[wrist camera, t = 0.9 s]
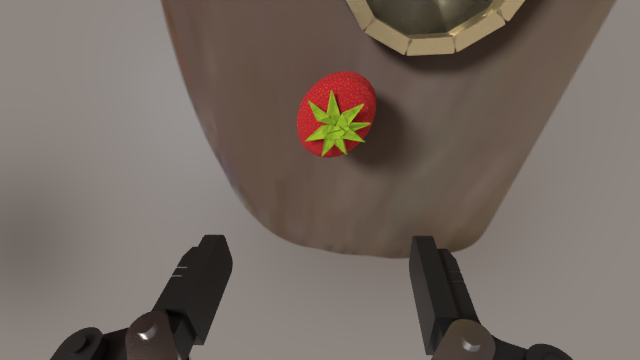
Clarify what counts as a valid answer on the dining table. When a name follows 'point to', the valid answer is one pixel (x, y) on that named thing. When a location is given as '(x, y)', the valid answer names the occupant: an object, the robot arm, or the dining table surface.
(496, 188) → the dining table surface
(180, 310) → the robot arm
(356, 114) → the strawberry
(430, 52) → the tan rimmed round bowl
